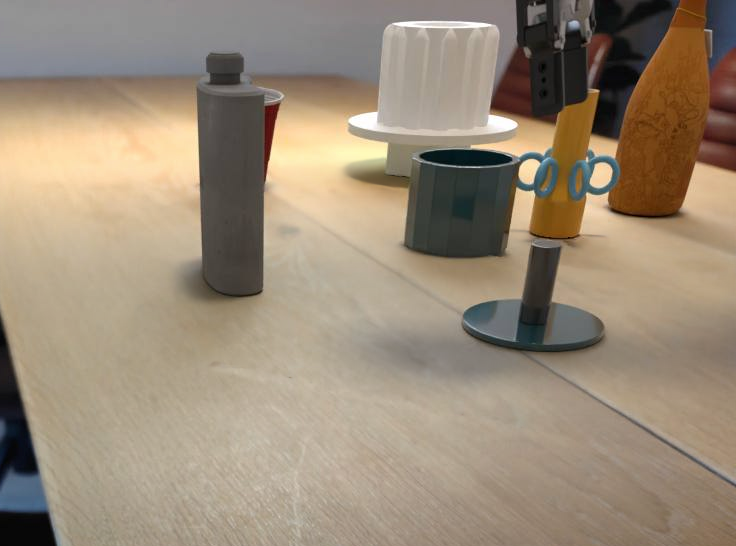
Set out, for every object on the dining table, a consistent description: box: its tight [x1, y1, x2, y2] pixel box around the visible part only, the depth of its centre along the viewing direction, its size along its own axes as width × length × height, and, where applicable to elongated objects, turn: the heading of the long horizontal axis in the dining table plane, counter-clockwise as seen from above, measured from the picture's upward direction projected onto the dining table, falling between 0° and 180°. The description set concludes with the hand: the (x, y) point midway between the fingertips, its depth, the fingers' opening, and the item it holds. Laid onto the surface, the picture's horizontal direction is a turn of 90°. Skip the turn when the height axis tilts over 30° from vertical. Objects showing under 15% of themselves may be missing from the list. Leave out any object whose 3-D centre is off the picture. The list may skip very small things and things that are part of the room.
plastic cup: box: [257, 86, 285, 186], centre depth 128 cm, size 11×11×12 cm
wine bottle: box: [607, 0, 713, 217], centre depth 111 cm, size 10×10×30 cm
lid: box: [461, 239, 606, 352], centre depth 80 cm, size 12×12×8 cm
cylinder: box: [516, 88, 620, 239], centre depth 106 cm, size 12×10×15 cm
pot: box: [403, 147, 521, 259], centre depth 102 cm, size 12×12×10 cm
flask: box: [195, 50, 265, 297], centre depth 90 cm, size 15×6×20 cm, turn 7°
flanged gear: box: [347, 20, 519, 178], centre depth 134 cm, size 25×25×19 cm
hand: (561, 109), depth 68 cm, fingers open, 8 cm apart
